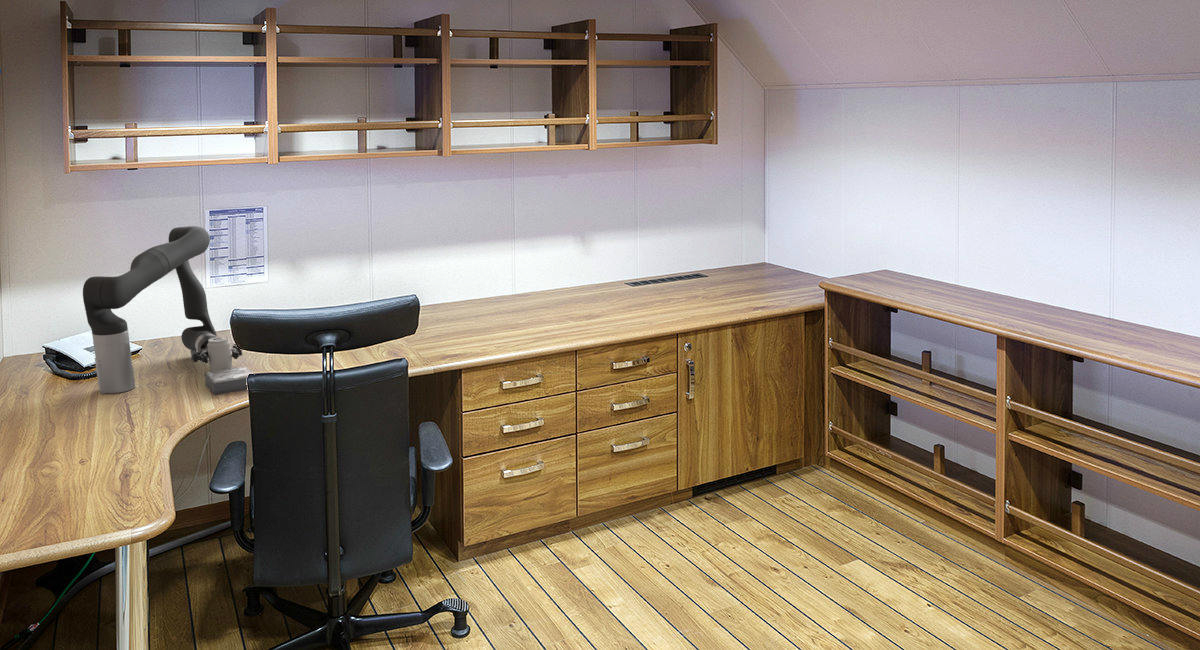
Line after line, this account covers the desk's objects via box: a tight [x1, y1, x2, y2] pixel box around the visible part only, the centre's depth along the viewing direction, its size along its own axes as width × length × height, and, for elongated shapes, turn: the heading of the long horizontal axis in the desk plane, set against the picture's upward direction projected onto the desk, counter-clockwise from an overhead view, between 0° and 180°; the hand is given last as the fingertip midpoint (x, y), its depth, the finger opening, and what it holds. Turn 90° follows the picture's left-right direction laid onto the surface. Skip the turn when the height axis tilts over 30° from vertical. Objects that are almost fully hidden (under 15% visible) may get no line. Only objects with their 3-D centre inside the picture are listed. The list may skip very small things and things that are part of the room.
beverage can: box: [207, 336, 234, 372], centre depth 286 cm, size 6×6×12 cm
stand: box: [204, 366, 254, 396], centre depth 277 cm, size 12×12×4 cm
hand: (221, 357), depth 284 cm, fingers open, 8 cm apart
